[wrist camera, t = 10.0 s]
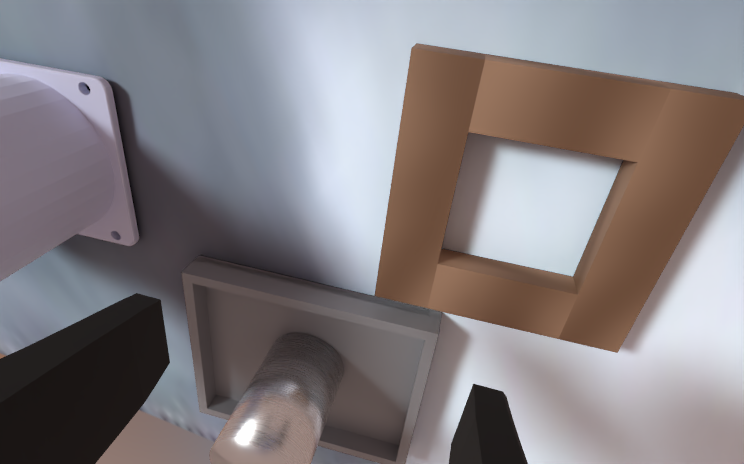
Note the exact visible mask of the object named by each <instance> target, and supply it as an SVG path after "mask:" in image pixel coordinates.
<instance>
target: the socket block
mask: <svg viewBox="0 0 744 464" xmlns="http://www.w3.org/2000/svg"><path fill="white" fill-rule="evenodd" d="M743 126H744V96H742V95H740V94H737V93H733V92H726V91H720V90H713V89H707V88H700V87H694V86H687V85H681V84H675V83H668V82H662V81H655V80H649V79H642V78H636V77H630V76H623V75H617V74H610V73H604V72H597V71H591V70H584V69H578V68H572V67H565V66H559V65H552V64H546V63H539V62H533V61H527V60H520V59H514V58H507V57H501V56H494V55H488V54H481V53H475V52H469V51H462V50H456V49H449V48H443V47H436V46H430V45H424V44H416V45H415V46H413V47H412V49H411V56H410V63H409V69H408V76H407V83H406V89H405V96H404V103H403V109H402V116H401V123H400V130H399V136H398V143H397V150H396V156H395V163H394V170H393V176H392V183H391V190H390V196H389V203H388V210H387V216H386V223H385V230H384V236H383V243H382V250H381V256H380V263H379V270H378V276H377V283H376V290H375V296H377V297H381V298H386V299H390V300H394V301H398V302H403V303H407V304H411V305H416V306H420V307H424V308H428V309H433V310H437V311H441V312H445V313H450V314H454V315H458V316H463V317H467V318H471V319H475V320H480V321H484V322H488V323H493V324H497V325H501V326H505V327H510V328H514V329H518V330H522V331H527V332H531V333H535V334H540V335H544V336H548V337H552V338H557V339H561V340H565V341H569V342H574V343H578V344H582V345H587V346H591V347H595V348H599V349H604V350H608V351H612V352H616V353H617V352H618V351H619V349H620V347H621V345H622V343H623V342H624V340H625V338H626V336H627V334H628V333H629V331H630V329H631V327H632V325H633V324H634V322H635V320H636V318H637V317H638V315H639V313H640V311H641V309H642V308H643V306H644V304H645V302H646V300H647V299H648V297H649V295H650V293H651V291H652V290H653V288H654V286H655V284H656V282H657V281H658V279H659V277H660V275H661V273H662V272H663V270H664V268H665V266H666V264H667V263H668V261H669V259H670V257H671V255H672V254H673V252H674V250H675V248H676V246H677V245H678V243H679V241H680V239H681V237H682V236H683V234H684V232H685V230H686V228H687V227H688V225H689V223H690V221H691V219H692V218H693V216H694V214H695V212H696V210H697V209H698V207H699V205H700V203H701V201H702V200H703V198H704V196H705V194H706V192H707V191H708V189H709V187H710V185H711V183H712V182H713V180H714V178H715V176H716V174H717V173H718V171H719V169H720V167H721V165H722V164H723V162H724V160H725V158H726V156H727V155H728V153H729V151H730V149H731V147H732V146H733V144H734V142H735V140H736V139H737V137H738V135H739V133H740V131H741V130H742V128H743ZM468 132H471V133H477V134H482V135H488V136H493V137H499V138H504V139H510V140H516V141H521V142H527V143H532V144H538V145H544V146H549V147H555V148H560V149H566V150H571V151H577V152H583V153H588V154H594V155H599V156H605V157H610V158H616V159H622V160H623V162H622V165H621V167H620V169H619V172H618V174H617V176H616V179H615V181H614V183H613V186H612V188H611V190H610V192H609V195H608V197H607V199H606V202H605V204H604V206H603V209H602V211H601V213H600V216H599V218H598V220H597V223H596V225H595V227H594V230H593V232H592V234H591V236H590V239H589V241H588V243H587V246H586V248H585V250H584V253H583V255H582V257H581V260H580V262H579V264H578V267H577V269H576V271H575V274H574V276H573V277H571V276H567V275H562V274H557V273H553V272H548V271H543V270H539V269H534V268H529V267H525V266H520V265H515V264H511V263H506V262H501V261H497V260H492V259H488V258H483V257H478V256H474V255H469V254H464V253H460V252H455V251H450V250H446V249H441V248H442V243H443V239H444V235H445V230H446V226H447V222H448V218H449V213H450V209H451V205H452V200H453V196H454V192H455V187H456V183H457V179H458V174H459V170H460V166H461V162H462V157H463V153H464V149H465V144H466V140H467V136H468Z"/></svg>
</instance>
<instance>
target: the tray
mask: <svg viewBox="0 0 744 464" xmlns="http://www.w3.org/2000/svg"><path fill="white" fill-rule="evenodd" d="M181 273H182V281H183V288H184V296H185V304H186V311H187V319H188V326H189V334H190V342H191V349H192V357H193V364H194V372H195V379H196V387H197V395H198V402H199V410H200V412H202V413H205V414H209V415H212V416H216V417H219V418H223V419H226V420H228V419H229V417H230V416H231V414H232V412H233V411H234V409H235V407H236V406H237V404H238V402H239V401H240V399H241V397H242V395H243V394H244V392H245V390H246V389H247V387H248V385H249V384H250V382H251V380H252V378H253V377H254V375H255V373H256V372H257V370H258V368H259V367H260V365H261V363H262V362H263V360H264V358H265V356H266V355H267V353H268V351H269V350H270V348H271V346H272V345H273V343H274V341H275V340H276V339H277V338H279V337H280V336H282V335H285V334H289V333H304V334H309V335H312V336H315V337H317V338H319V339H321V340H323V341H325V342H326V343H328V344H329V345H330V346H331V347H333V348H334V349H335V351H336V352H337V353H338V354H339V356H340V358H341V359H342V362H343V365H344V375H343V378H342V380H341V383H340V386H339V388H338V391H337V394H336V397H335V399H334V402H333V405H332V407H331V410H330V413H329V415H328V418H327V421H326V424H325V426H324V429H323V432H322V434H321V437H320V440H319V442H318V446H321V447H325V448H328V449H332V450H335V451H339V452H342V453H346V454H349V455H353V456H356V457H360V458H363V459H367V460H370V461H374V462H377V463H381V464H405V462H406V458H407V454H408V451H409V447H410V443H411V439H412V435H413V431H414V427H415V424H416V420H417V416H418V412H419V408H420V404H421V401H422V397H423V393H424V389H425V385H426V381H427V377H428V374H429V370H430V366H431V362H432V358H433V354H434V350H435V347H436V343H437V339H438V335H439V328H440V321H441V313H442V312H439V311H435V310H431V309H426V308H422V307H418V306H414V305H409V304H405V303H401V302H397V301H392V300H388V299H384V298H379V297H375V296H371V295H367V294H362V293H358V292H354V291H350V290H345V289H341V288H337V287H332V286H328V285H324V284H320V283H315V282H311V281H307V280H303V279H298V278H294V277H290V276H285V275H281V274H277V273H273V272H268V271H264V270H260V269H256V268H251V267H247V266H243V265H239V264H234V263H230V262H226V261H221V260H217V259H213V258H209V257H204V256H200V255H199V256H198V257H197V258H196V259H195V260H194V261H193V262H192V263H191V264H190V265H189V266H188V267H187V268H185V269H184V270H183V271H182V272H181Z"/></svg>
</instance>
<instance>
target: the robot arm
mask: <svg viewBox="0 0 744 464" xmlns="http://www.w3.org/2000/svg"><path fill="white" fill-rule="evenodd" d="M86 84H87V85H88V86H89V88H90V91H89V90H88V89H87V87H86ZM118 233H119V234H120V235H119V234H118ZM76 234H79V235H84V236H88V237H92V238H96V239H101V240H105V241H109V242H113V243H118V244H122V245H126V246H132V245H134V244H135V243H137V242H138V240H139V233H138V228H137V222H136V217H135V211H134V206H133V200H132V195H131V189H130V184H129V178H128V173H127V167H126V162H125V157H124V151H123V146H122V140H121V135H120V129H119V124H118V118H117V113H116V107H115V102H114V96H113V91H112V88H111V86H110V84H109V83H108V81H106V80H105V79H104V78H102V77H99V76H94V75H89V74H83V73H78V72H72V71H67V70H61V69H56V68H51V67H45V66H40V65H34V64H29V63H23V62H18V61H12V60H7V59H1V58H0V281H2V280H3V279H5V278H7V277H8V276H10V275H11V274H13V273H15V272H16V271H18V270H19V269H21V268H23V267H24V266H26V265H27V264H29V263H31V262H32V261H34V260H35V259H37V258H39V257H40V256H42V255H44V254H45V253H47V252H48V251H50V250H52V249H53V248H55V247H56V246H58V245H60V244H61V243H63V242H64V241H66V240H68V239H69V238H71V237H73V236H74V235H76ZM169 363H170V360H169V353H168V347H167V340H166V333H165V326H164V320H163V313H162V306H161V300H160V299H156V298H152V297H149V296H145V295H141V294H137V293H136V294H134V295H132V296H130V297H128V298H125V299H123V300H121V301H119V302H117V303H115V304H113V305H111V306H109V307H107V308H105V309H103V310H101V311H99V312H97V313H95V314H93V315H91V316H89V317H87V318H85V319H83V320H81V321H79V322H77V323H75V324H73V325H71V326H68V327H66V328H64V329H62V330H60V331H58V332H56V333H54V334H52V335H50V336H48V337H46V338H44V339H42V340H40V341H38V342H36V343H34V344H32V345H30V346H27V347H25V348H23V349H21V350H19V351H17V352H14V353H12V354H10V355H8V356H6V357H3V358H1V359H0V464H95V463H96V462H97V460H99V458H100V457H101V456H102V455H103V453H104V452H105V451H106V450H107V448H108V447H109V446H110V445H111V444H112V442H113V441H114V440H115V439H116V437H117V436H118V435H119V434H120V433H121V431H122V430H123V429H124V427H125V426H126V425H127V424H128V423H129V421H130V420H131V419H132V417H133V416H134V415H135V414H136V413H137V411H138V410H139V409H140V408H141V406H142V405H143V404H144V402H145V401H146V399H147V398H148V396H149V395H150V393H151V392H152V390H153V389H154V387H155V386H156V384H157V383H158V381H159V379H160V378H161V376H162V374H163V373H164V371H165V369H166V368H167V366H168V364H169ZM449 464H528V463H527V460H526V457H525V454H524V451H523V449H522V446H521V443H520V440H519V437H518V434H517V431H516V428H515V425H514V421H513V418H512V415H511V411H510V408H509V405H508V401H507V397H506V396H505V394H504V393H503V392H502V391H498V390H495V389H491V388H487V387H483V386H480V385H476V384H473V386H472V389H471V392H470V395H469V397H468V400H467V403H466V405H465V408H464V411H463V414H462V416H461V419H460V422H459V424H458V427H457V430H456V432H455V435H454V438H453V441H452V443H451V451H450V459H449Z"/></svg>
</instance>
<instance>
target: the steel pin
mask: <svg viewBox="0 0 744 464" xmlns="http://www.w3.org/2000/svg"><path fill="white" fill-rule="evenodd" d="M343 375H344V365H343V362H342V359H341V358H340V356H339V354H338V353H337V352H336V351H335V349H334V348H333V347H331V346H330V345H329V344H328V343H326V342H325V341H323V340H321V339H319V338H317V337H315V336H312V335H309V334H304V333H289V334H285V335H282V336H280V337H279V338H277V339H276V340H275V341H274V343H273V345H272V346H271V348H270V350H269V351H268V353H267V355H266V356H265V358H264V360H263V362H262V363H261V365H260V367H259V368H258V370H257V372H256V373H255V375H254V377H253V378H252V380H251V382H250V384H249V385H248V387H247V389H246V390H245V392H244V394H243V395H242V397H241V399H240V401H239V402H238V404H237V406H236V407H235V409H234V411H233V412H232V414H231V416H230V417H229V419H228V421H227V423H226V424H225V426H224V428H223V429H222V431H221V433H220V434H219V436H218V438H217V440H216V441H215V443H214V445H213V447H212V448H211V450H210V454H209V456H210V461H211V464H311V461H312V459H313V456H314V453H315V451H316V448H317V445H318V442H319V440H320V437H321V434H322V432H323V429H324V426H325V424H326V421H327V418H328V415H329V413H330V410H331V407H332V405H333V402H334V399H335V397H336V394H337V391H338V388H339V386H340V383H341V380H342V378H343Z"/></svg>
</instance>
